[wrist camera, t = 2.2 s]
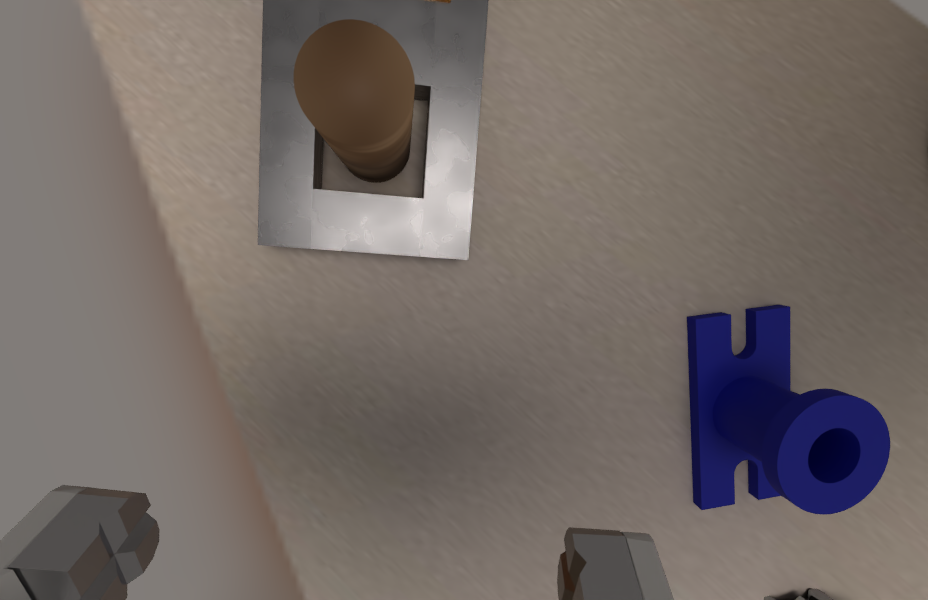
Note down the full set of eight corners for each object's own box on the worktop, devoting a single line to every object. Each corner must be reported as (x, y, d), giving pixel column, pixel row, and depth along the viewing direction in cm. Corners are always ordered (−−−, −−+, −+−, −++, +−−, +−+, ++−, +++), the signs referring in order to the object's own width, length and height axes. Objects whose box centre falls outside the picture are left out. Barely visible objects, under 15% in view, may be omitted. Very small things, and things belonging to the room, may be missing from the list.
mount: (777, 485, 38) (886, 557, 30) (692, 501, 37) (778, 579, 29) (777, 304, 36) (893, 325, 28) (685, 316, 35) (776, 342, 27)
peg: (398, 103, 30) (395, 6, 18) (418, 172, 31) (428, 128, 18) (330, 120, 30) (276, 34, 17) (351, 190, 31) (315, 157, 18)
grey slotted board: (493, -155, 29) (504, -202, 26) (462, 257, 32) (468, 260, 29) (283, -196, 27) (267, -252, 24) (271, 244, 31) (256, 244, 27)
